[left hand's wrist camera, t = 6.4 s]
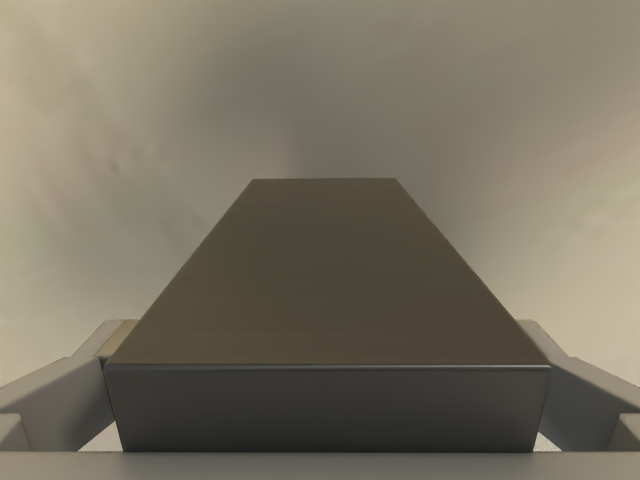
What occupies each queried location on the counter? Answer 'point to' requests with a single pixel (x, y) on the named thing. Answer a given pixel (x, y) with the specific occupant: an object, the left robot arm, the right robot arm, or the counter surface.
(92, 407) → the left robot arm
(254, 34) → the counter surface
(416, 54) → the counter surface
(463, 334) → the box
